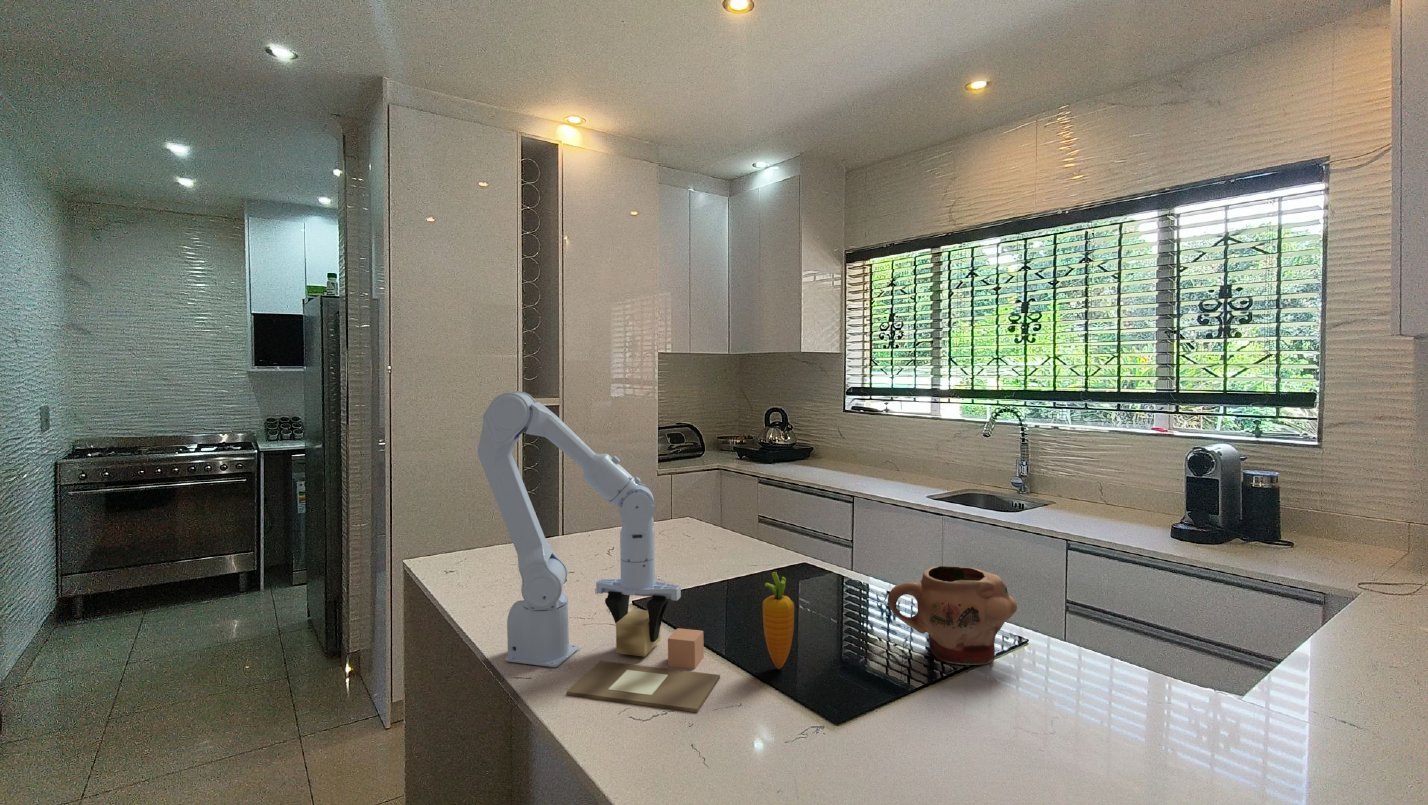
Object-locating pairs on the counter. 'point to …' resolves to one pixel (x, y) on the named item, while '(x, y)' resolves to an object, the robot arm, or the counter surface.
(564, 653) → the robot arm
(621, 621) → the oak block
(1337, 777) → the counter surface
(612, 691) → the brown wooden board
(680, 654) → the terracotta cube
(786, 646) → the carrot
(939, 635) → the brown clay mug
